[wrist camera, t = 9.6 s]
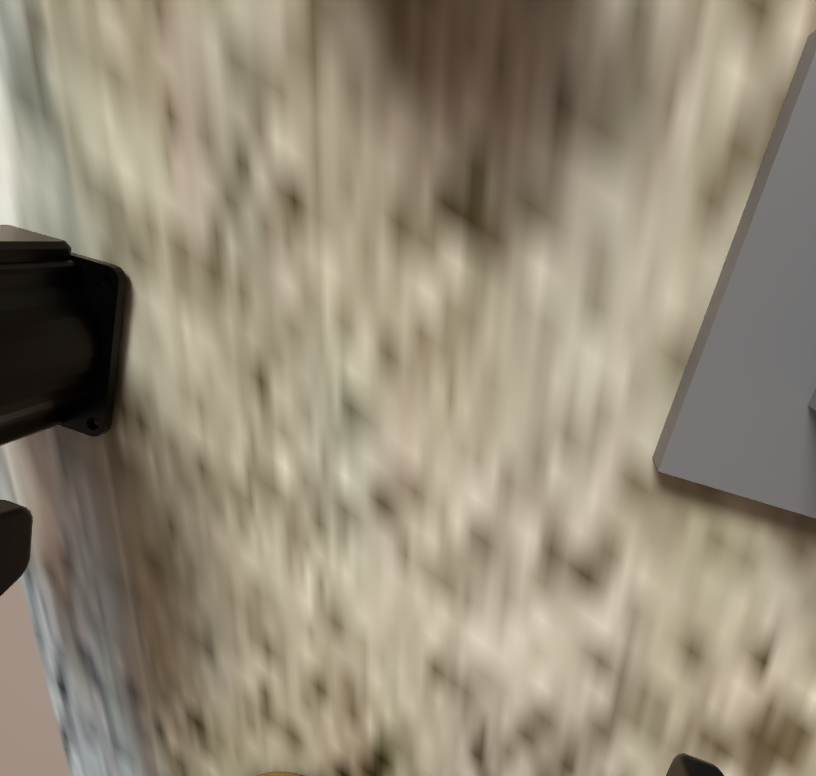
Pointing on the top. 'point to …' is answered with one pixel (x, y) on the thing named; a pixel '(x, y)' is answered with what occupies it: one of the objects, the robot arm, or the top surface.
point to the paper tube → (279, 774)
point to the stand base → (760, 334)
